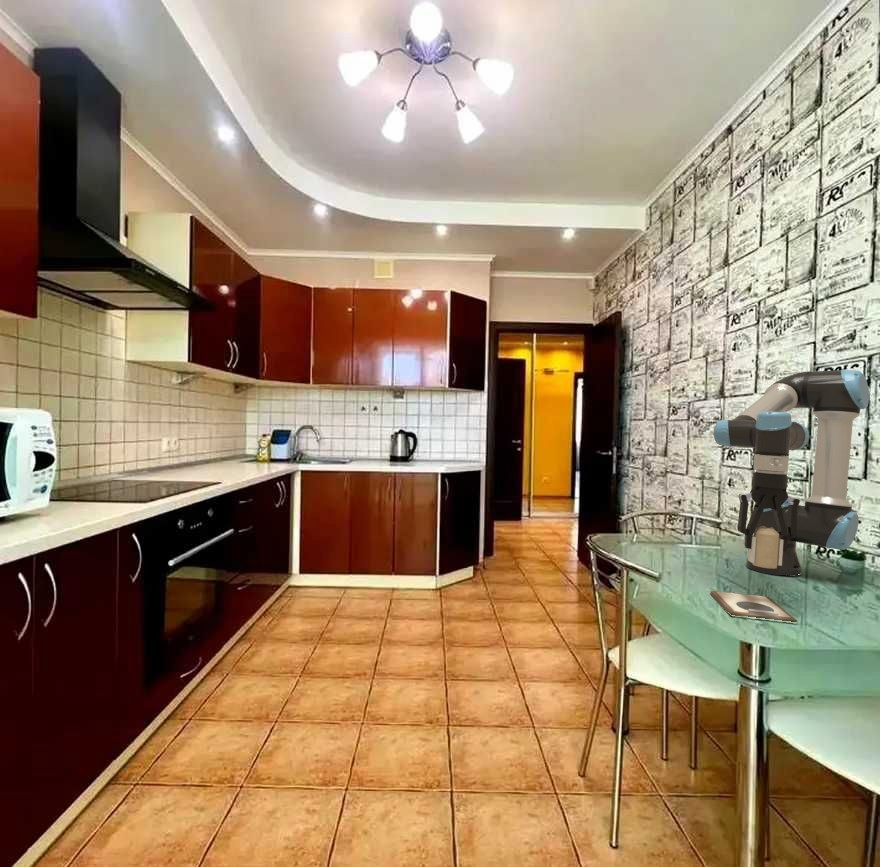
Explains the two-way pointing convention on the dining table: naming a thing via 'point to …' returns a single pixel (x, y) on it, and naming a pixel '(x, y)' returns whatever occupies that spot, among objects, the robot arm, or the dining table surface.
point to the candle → (766, 547)
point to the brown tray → (751, 606)
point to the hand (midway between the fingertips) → (764, 562)
